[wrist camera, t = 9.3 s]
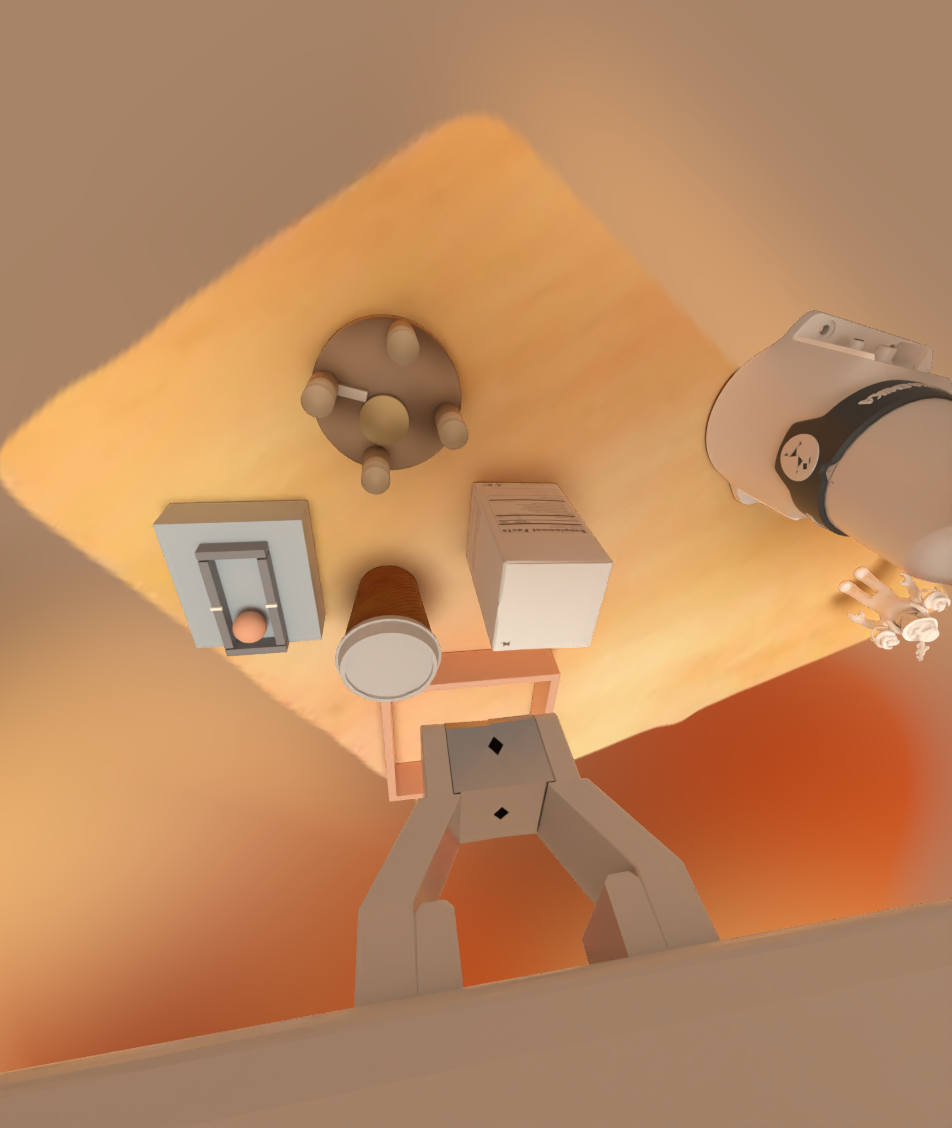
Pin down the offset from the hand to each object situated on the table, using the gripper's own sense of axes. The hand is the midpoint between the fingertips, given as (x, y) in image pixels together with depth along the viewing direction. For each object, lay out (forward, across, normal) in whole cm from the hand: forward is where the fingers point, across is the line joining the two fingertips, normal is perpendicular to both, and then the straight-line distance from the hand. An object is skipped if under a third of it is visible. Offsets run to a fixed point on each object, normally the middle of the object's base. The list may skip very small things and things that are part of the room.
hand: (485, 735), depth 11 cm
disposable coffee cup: (+37, +3, +23) cm, 44 cm away
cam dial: (+37, +2, +2) cm, 37 cm away
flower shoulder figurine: (+37, -57, +26) cm, 73 cm away
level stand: (+37, +16, +19) cm, 45 cm away
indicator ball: (+32, +16, +22) cm, 42 cm away
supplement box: (+37, -10, +15) cm, 41 cm away
